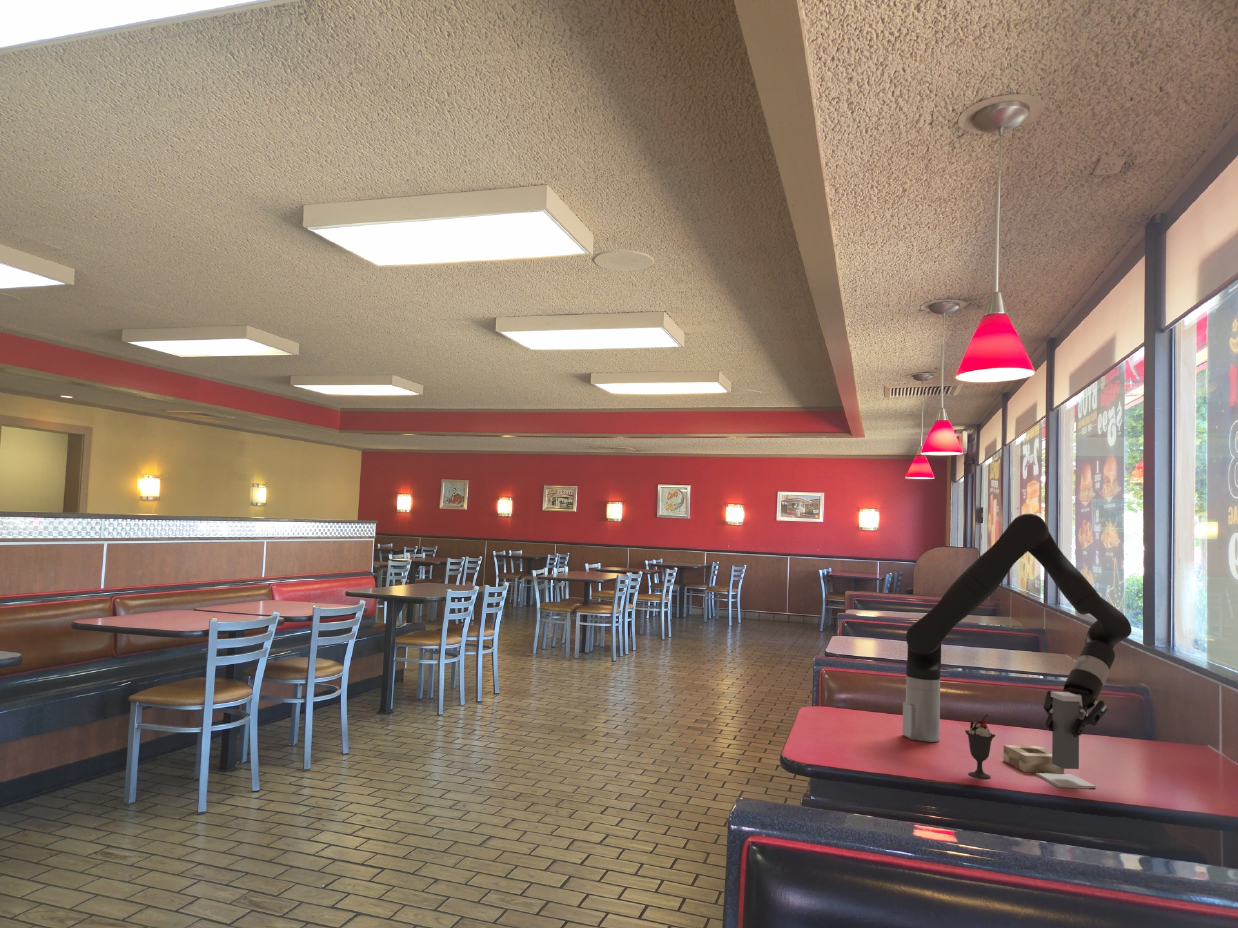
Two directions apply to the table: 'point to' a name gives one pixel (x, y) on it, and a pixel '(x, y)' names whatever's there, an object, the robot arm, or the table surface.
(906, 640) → the robot arm
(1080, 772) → the table surface
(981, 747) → the sundae
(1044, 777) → the mat
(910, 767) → the table surface
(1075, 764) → the plug
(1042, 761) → the square wooden socket block
